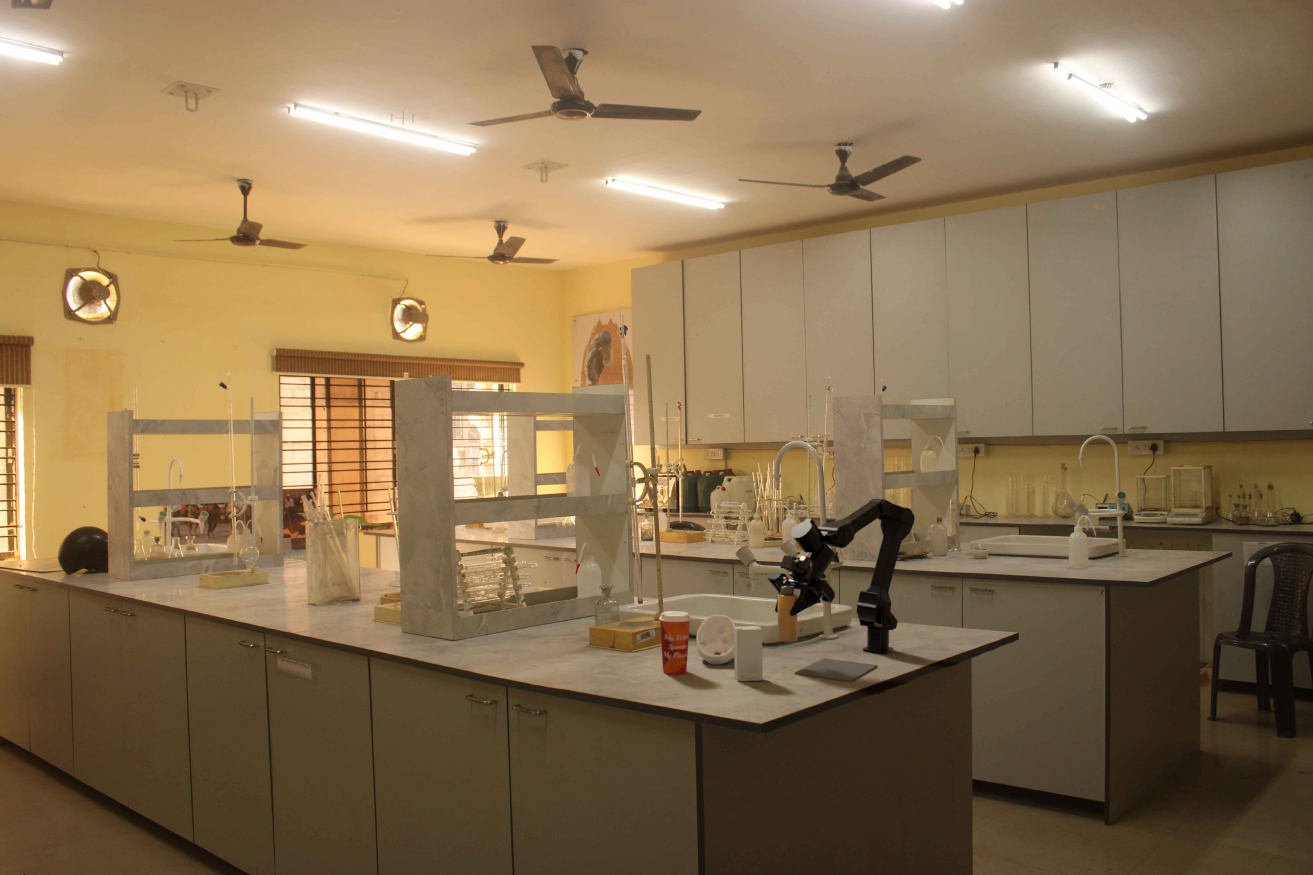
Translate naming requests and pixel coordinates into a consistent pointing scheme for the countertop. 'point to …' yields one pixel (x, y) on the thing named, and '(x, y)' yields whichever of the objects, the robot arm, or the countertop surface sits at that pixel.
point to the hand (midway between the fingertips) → (783, 613)
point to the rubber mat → (836, 669)
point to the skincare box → (748, 653)
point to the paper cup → (674, 641)
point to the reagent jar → (787, 615)
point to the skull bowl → (716, 639)
